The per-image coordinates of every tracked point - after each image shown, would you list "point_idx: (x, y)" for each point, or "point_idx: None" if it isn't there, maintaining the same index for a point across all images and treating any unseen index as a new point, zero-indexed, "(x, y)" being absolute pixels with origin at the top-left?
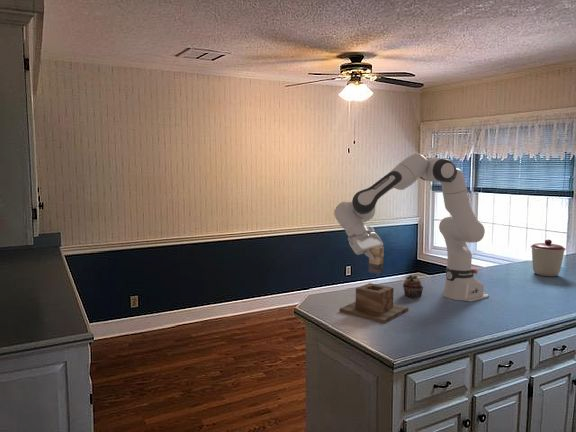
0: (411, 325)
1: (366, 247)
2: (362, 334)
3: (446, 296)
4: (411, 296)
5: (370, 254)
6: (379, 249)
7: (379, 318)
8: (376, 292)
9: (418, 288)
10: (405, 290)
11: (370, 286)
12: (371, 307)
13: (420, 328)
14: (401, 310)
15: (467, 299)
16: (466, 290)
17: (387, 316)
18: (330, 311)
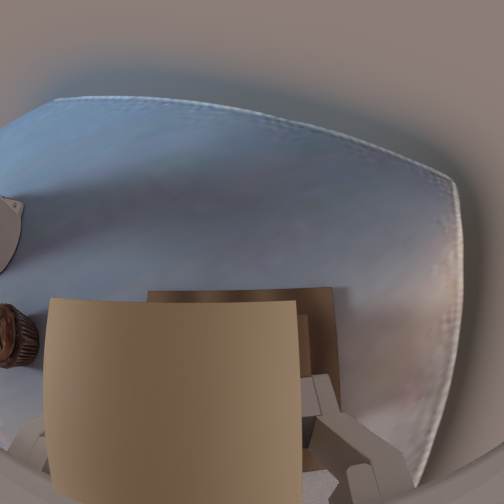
0: (281, 224)
1: (463, 500)
2: (433, 285)
3: (9, 256)
4: (36, 336)
5: (362, 429)
6: (253, 307)
7: (332, 306)
8: (304, 339)
9: (14, 309)
10: (23, 356)
11: None
12: None
13: (284, 199)
14: (198, 292)
15: (20, 209)
16: (5, 201)
17: (294, 297)
18: None
